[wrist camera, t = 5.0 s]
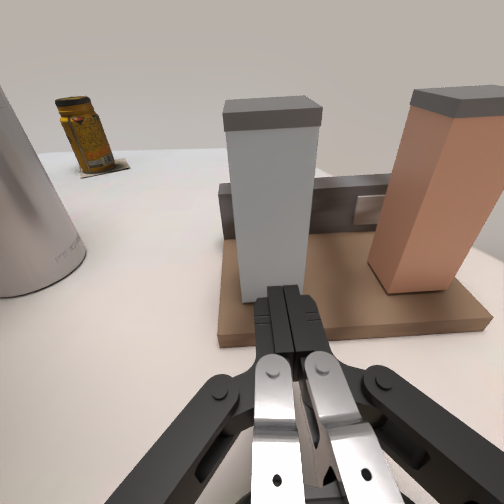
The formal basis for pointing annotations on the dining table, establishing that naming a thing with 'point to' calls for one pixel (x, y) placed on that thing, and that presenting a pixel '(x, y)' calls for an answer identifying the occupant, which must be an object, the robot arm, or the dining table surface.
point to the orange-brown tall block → (440, 187)
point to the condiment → (87, 136)
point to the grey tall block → (271, 187)
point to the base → (346, 274)
